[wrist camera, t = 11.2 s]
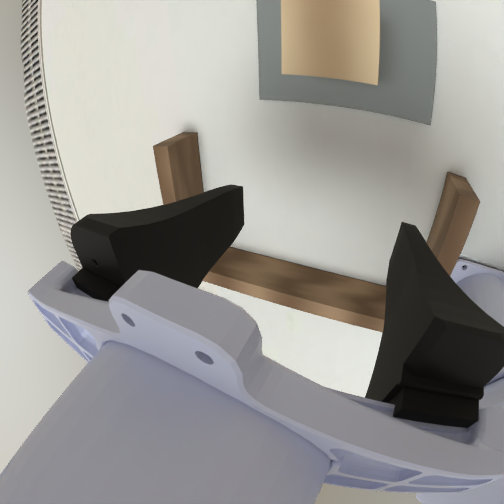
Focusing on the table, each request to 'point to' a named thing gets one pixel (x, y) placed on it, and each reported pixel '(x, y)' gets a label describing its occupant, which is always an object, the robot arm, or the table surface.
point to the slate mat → (390, 65)
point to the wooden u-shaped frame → (301, 277)
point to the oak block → (331, 39)
